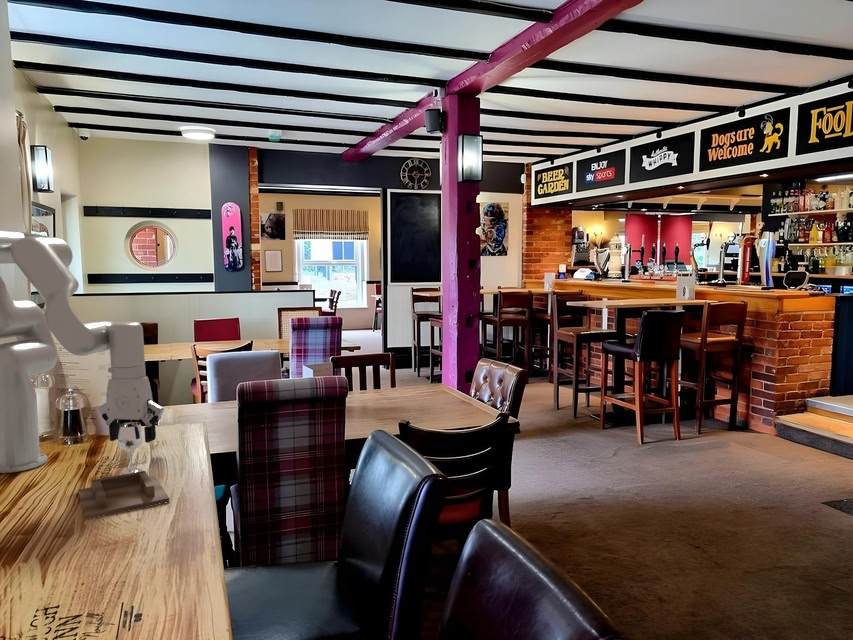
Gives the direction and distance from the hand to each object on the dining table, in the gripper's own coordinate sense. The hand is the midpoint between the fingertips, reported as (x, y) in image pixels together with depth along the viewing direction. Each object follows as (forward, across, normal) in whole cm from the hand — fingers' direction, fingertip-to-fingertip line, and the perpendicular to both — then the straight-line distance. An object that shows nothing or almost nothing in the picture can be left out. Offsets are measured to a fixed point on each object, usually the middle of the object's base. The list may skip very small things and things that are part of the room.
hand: (132, 440), depth 148 cm
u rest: (+8, +8, -15) cm, 19 cm away
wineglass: (+8, -1, 0) cm, 8 cm away
